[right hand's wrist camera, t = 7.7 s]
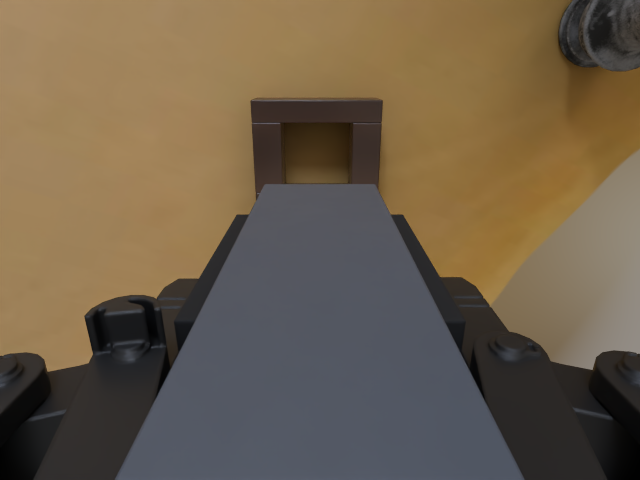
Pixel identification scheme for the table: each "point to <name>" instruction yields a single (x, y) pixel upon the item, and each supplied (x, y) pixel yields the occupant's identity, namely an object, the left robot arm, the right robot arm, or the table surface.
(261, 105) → the walnut plank
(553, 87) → the table surface
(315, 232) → the grey peg
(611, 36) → the grey chess piece
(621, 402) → the right robot arm
